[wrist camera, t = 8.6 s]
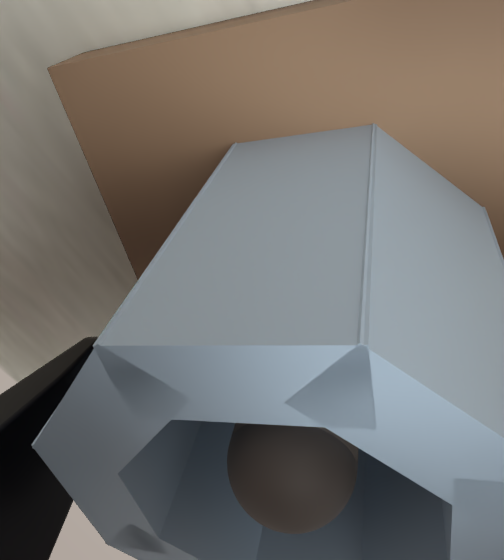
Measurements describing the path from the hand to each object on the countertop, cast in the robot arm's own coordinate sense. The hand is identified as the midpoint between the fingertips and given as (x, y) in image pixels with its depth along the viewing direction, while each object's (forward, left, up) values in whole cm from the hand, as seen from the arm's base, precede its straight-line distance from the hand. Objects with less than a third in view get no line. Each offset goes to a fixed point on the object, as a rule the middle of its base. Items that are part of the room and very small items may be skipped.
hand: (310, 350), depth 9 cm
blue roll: (0, 0, -3) cm, 3 cm away
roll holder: (0, 0, -4) cm, 4 cm away
